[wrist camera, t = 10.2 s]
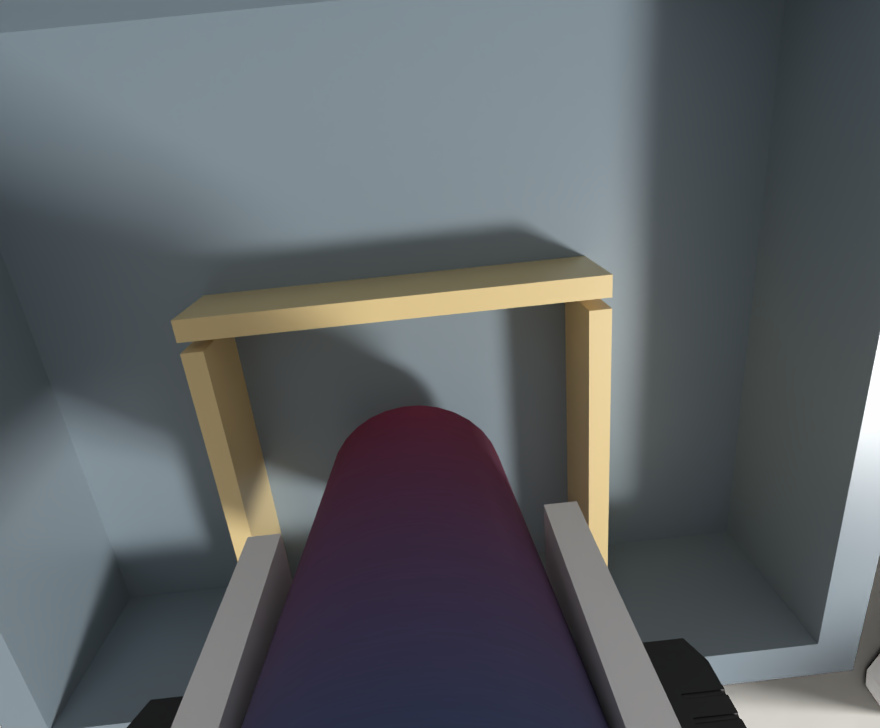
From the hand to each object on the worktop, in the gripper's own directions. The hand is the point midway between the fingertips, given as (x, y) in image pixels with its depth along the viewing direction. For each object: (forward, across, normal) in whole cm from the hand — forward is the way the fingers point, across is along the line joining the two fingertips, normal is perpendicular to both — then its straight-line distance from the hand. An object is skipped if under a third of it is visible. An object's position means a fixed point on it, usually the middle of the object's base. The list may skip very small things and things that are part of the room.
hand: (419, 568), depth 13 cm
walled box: (+7, 0, +4) cm, 8 cm away
